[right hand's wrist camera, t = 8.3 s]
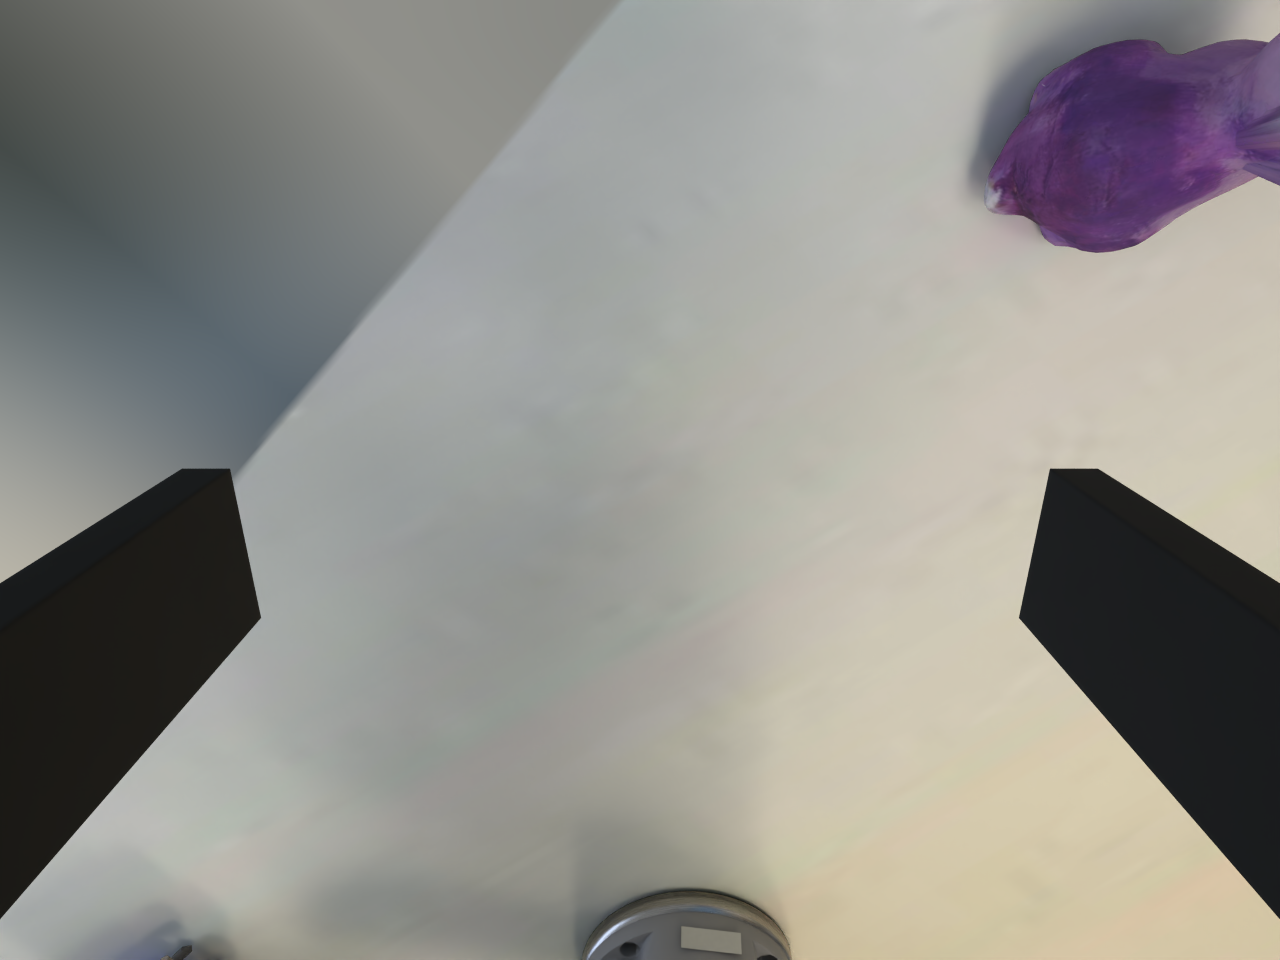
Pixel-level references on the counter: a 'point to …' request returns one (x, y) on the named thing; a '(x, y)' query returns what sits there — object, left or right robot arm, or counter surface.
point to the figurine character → (180, 954)
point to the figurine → (1139, 140)
